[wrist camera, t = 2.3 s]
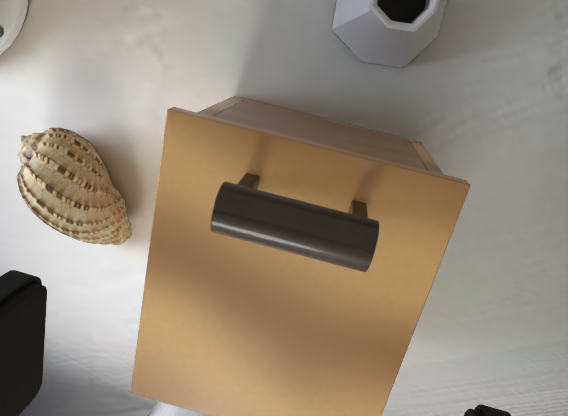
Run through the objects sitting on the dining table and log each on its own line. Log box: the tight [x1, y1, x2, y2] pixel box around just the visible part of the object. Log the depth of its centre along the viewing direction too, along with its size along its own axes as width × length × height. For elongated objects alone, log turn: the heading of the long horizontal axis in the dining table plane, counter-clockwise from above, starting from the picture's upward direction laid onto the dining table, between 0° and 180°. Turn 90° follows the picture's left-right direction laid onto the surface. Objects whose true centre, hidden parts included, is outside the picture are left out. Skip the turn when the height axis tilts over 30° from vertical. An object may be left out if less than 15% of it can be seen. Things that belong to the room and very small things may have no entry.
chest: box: [197, 96, 444, 175], centre depth 30 cm, size 16×14×12 cm
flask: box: [332, 0, 447, 68], centre depth 26 cm, size 7×7×10 cm
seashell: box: [16, 128, 132, 245], centre depth 36 cm, size 8×6×10 cm
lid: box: [131, 107, 470, 416], centre depth 21 cm, size 17×14×6 cm
